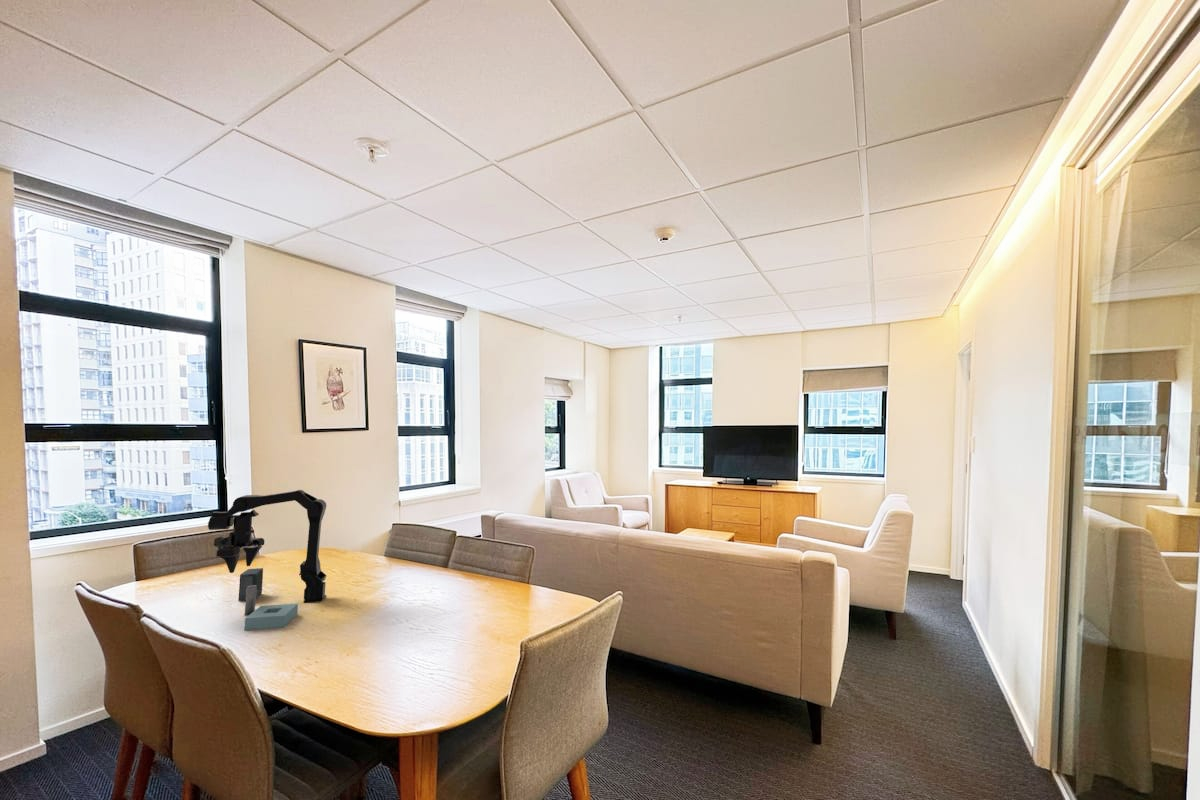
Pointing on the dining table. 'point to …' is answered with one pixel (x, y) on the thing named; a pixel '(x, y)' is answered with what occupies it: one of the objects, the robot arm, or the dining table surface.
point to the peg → (250, 599)
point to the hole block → (271, 616)
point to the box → (250, 582)
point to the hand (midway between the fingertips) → (240, 569)
